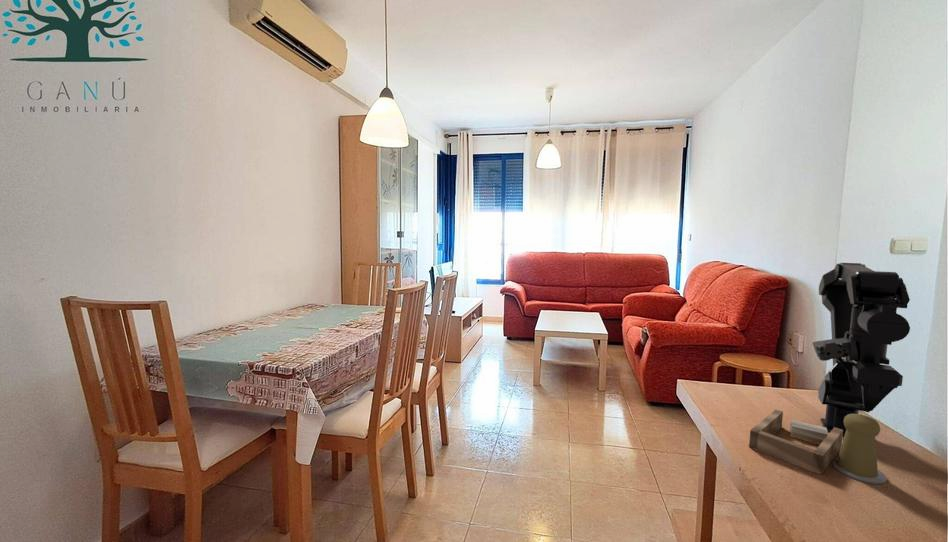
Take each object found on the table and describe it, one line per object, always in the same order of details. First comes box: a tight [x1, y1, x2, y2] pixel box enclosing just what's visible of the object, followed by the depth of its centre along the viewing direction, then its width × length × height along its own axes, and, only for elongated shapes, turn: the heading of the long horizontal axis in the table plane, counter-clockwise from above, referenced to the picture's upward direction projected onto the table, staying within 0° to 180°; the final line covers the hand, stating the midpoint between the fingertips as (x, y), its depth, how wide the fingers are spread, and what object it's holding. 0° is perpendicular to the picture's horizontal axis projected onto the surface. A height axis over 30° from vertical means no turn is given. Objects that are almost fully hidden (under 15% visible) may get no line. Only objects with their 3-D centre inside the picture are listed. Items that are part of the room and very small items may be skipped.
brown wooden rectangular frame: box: [748, 409, 844, 475], centre depth 87 cm, size 17×12×4 cm
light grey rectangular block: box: [789, 419, 829, 445], centre depth 91 cm, size 4×7×3 cm, turn 50°
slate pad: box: [832, 458, 887, 485], centre depth 78 cm, size 8×8×1 cm
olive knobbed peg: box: [836, 413, 881, 478], centre depth 78 cm, size 6×6×11 cm
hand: (860, 402), depth 83 cm, fingers open, 9 cm apart
